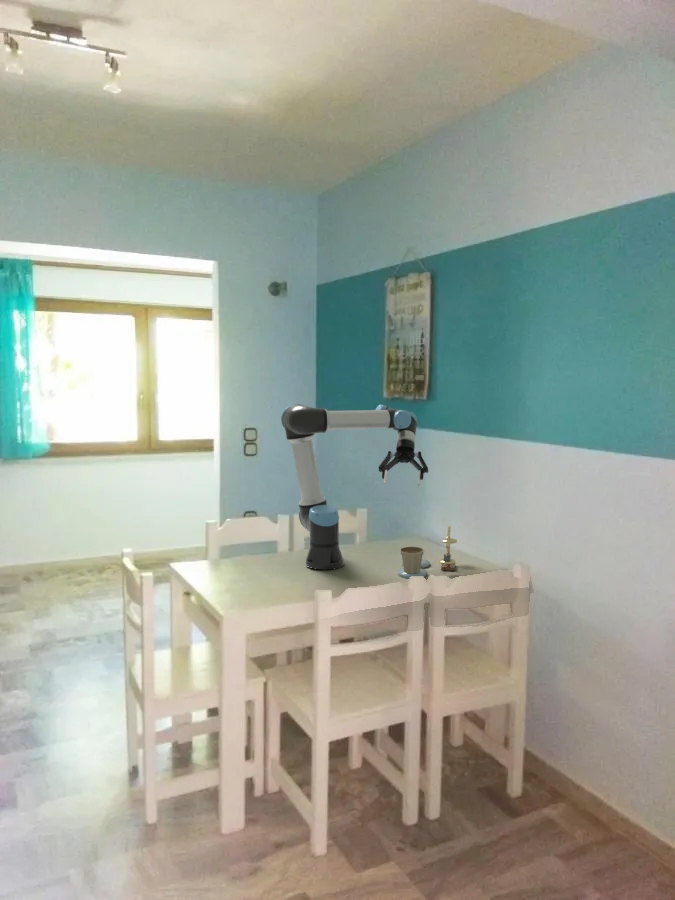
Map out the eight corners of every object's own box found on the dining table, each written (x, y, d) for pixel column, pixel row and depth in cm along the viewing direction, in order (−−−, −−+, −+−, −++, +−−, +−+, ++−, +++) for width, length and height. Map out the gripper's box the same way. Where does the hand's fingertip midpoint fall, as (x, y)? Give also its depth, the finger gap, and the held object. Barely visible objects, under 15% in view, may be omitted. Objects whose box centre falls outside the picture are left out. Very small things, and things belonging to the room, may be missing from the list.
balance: (438, 575, 263) (438, 537, 262) (442, 560, 284) (442, 524, 282) (454, 576, 262) (455, 537, 260) (457, 560, 283) (457, 525, 281)
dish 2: (400, 568, 274) (400, 565, 274) (403, 560, 285) (403, 558, 285) (428, 569, 272) (428, 566, 272) (430, 561, 282) (430, 559, 282)
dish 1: (396, 577, 261) (396, 575, 261) (399, 569, 272) (399, 567, 272) (425, 579, 259) (425, 576, 259) (428, 570, 270) (428, 568, 270)
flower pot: (425, 575, 261) (425, 552, 260) (400, 575, 261) (400, 553, 260) (423, 568, 270) (423, 546, 269) (399, 568, 270) (399, 546, 269)
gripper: (436, 449, 292) (433, 491, 279) (377, 449, 297) (372, 489, 284) (435, 438, 286) (432, 480, 273) (375, 437, 291) (369, 479, 279)
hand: (401, 485), depth 279 cm, fingers open, 13 cm apart
